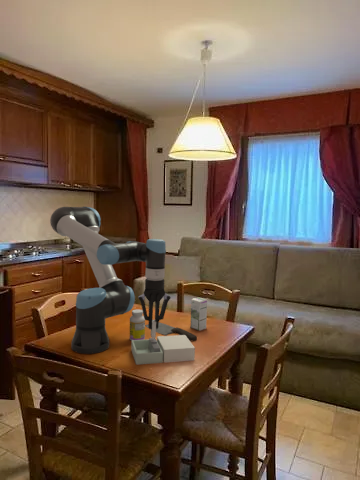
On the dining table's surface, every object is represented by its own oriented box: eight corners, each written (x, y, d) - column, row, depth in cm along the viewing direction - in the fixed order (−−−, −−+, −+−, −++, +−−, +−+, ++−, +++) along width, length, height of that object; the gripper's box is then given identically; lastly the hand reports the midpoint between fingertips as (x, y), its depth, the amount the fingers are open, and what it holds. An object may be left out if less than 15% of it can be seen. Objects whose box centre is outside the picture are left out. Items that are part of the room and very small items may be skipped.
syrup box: (206, 328, 180) (208, 299, 179) (198, 331, 176) (200, 301, 174) (197, 325, 184) (198, 296, 183) (189, 328, 180) (190, 298, 178)
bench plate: (163, 362, 140) (164, 349, 140) (156, 348, 154) (157, 336, 153) (194, 360, 143) (194, 347, 143) (184, 346, 157) (185, 334, 156)
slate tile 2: (157, 353, 147) (150, 353, 147) (154, 348, 152) (148, 349, 151) (157, 342, 147) (151, 342, 146) (154, 337, 151) (148, 338, 150)
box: (136, 364, 137) (136, 354, 137) (131, 349, 151) (131, 340, 151) (162, 362, 140) (162, 352, 140) (155, 348, 153) (155, 338, 153)
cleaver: (200, 339, 166) (200, 334, 166) (185, 344, 159) (185, 340, 159) (156, 323, 187) (156, 319, 187) (141, 327, 180) (141, 323, 180)
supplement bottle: (128, 337, 165) (128, 308, 163) (143, 336, 166) (144, 308, 165) (130, 342, 158) (130, 313, 157) (145, 341, 160) (146, 312, 158)
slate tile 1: (159, 359, 141) (153, 359, 141) (157, 354, 146) (151, 355, 145) (160, 348, 141) (153, 348, 140) (157, 343, 145) (151, 343, 145)
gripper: (139, 280, 141) (138, 341, 143) (173, 280, 144) (171, 339, 147) (137, 276, 148) (135, 334, 151) (168, 276, 151) (166, 332, 154)
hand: (153, 336), depth 149 cm, fingers closed
